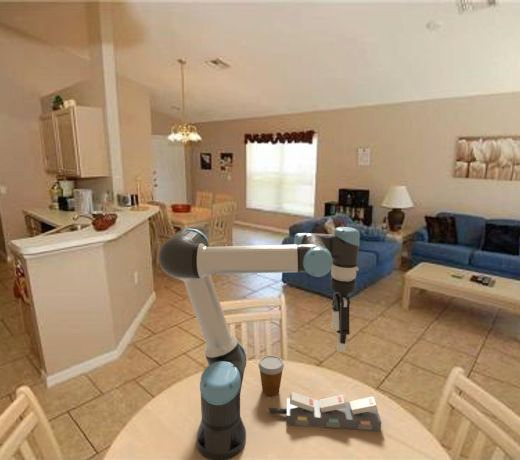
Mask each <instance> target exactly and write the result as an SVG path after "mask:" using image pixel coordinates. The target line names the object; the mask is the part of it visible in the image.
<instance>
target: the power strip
mask: <svg viewBox="0 0 520 460" xmlns="http://www.w3.org/2000/svg"><path fill="white" fill-rule="evenodd" d="M314 404H315V408H314V411H313V412H311V411H309V410H306V409H303V408H300V407H297V406H294V405H291V404H290V397H289V398H288V397H287V398H286V408H276V407H269V409H268V414H276V415H279V414H280V415H286V425H288V426H301V427H317V428H318V427H319V428H330V429H331V428H332V429H347V430H360V431H373V432H374V431H375V432H376V431H377V432H381V431H382V430H381V428H382V419H381V416H380V413H379V411H378V410H373V411H369V412H364V413H359V414H354V415H353V413H352V410H351V405H350V401H345V405H346V408H342V409H337V410H332V411H327V412H323V413H322V411H321V408H320V400H319V399H314Z"/></svg>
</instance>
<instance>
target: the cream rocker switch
mask: <svg viewBox="0 0 520 460" xmlns="http://www.w3.org/2000/svg"><path fill="white" fill-rule="evenodd" d="M349 402H350V405H351V410H352V413H353V415H354V414H359V413H364V412H369V411H373V410H378V406H377V404H376V400H375V397H374V396H368V397H364V398H363V397H362V398H360V399H359V398H358V399H355V400H350V401H349Z"/></svg>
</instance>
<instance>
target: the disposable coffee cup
mask: <svg viewBox="0 0 520 460" xmlns="http://www.w3.org/2000/svg"><path fill="white" fill-rule="evenodd" d="M257 365H258V369H259V375H260V382H261V387H262V388H261V392H262V394H264V396H266V397H275V396H277V395H278V394H279V393H280V388H281V382H282V375H283V371H284V368H285V363H284V361H283V359H282V358H281V357H280V356H277V355H265V356H263V357H261V358H260V360H259V362H258V364H257Z"/></svg>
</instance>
